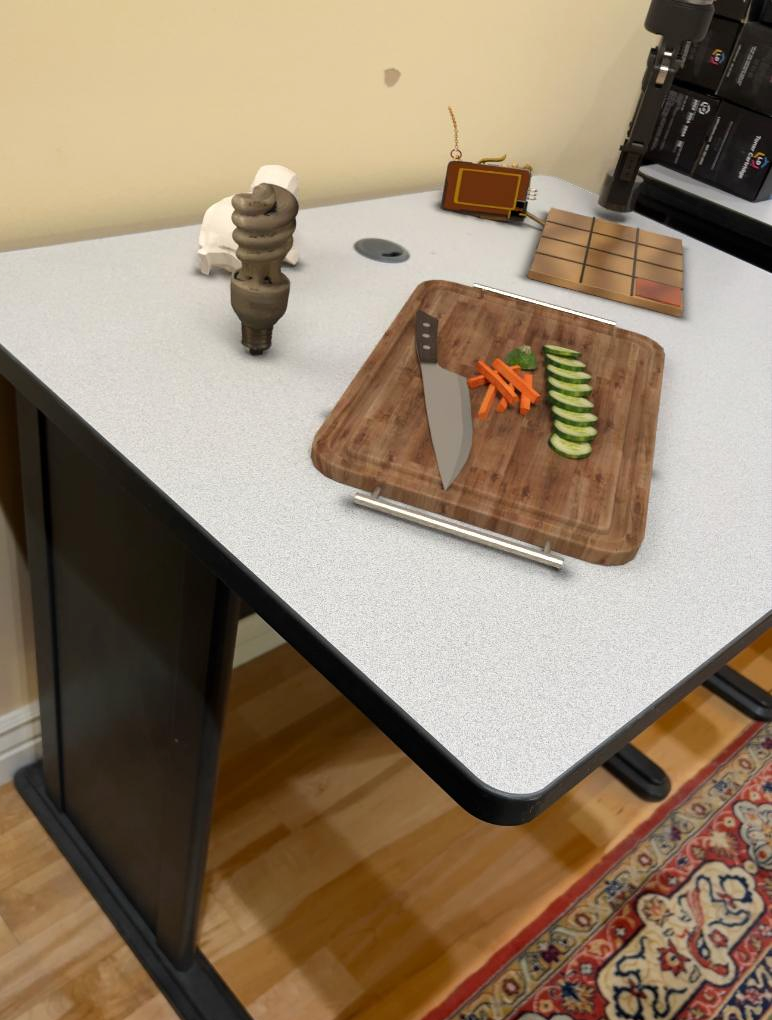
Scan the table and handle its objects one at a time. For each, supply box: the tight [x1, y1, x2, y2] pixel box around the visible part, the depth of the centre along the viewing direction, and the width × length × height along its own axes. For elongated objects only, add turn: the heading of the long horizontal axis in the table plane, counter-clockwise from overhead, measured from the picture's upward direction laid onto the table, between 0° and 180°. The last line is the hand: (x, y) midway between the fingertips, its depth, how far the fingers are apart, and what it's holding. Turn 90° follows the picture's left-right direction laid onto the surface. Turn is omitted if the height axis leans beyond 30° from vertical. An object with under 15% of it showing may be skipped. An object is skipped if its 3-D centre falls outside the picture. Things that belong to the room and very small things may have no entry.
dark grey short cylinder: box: [597, 169, 644, 214], centre depth 122 cm, size 5×5×4 cm
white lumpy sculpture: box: [197, 164, 300, 276], centre depth 95 cm, size 9×8×15 cm
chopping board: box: [310, 279, 666, 569], centre depth 81 cm, size 45×27×3 cm, turn 161°
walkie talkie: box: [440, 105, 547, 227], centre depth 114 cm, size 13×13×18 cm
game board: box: [527, 206, 684, 318], centre depth 112 cm, size 18×24×1 cm
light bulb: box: [229, 183, 300, 356], centre depth 77 cm, size 6×6×15 cm
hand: (617, 196), depth 122 cm, fingers closed on dark grey short cylinder, 5 cm apart
